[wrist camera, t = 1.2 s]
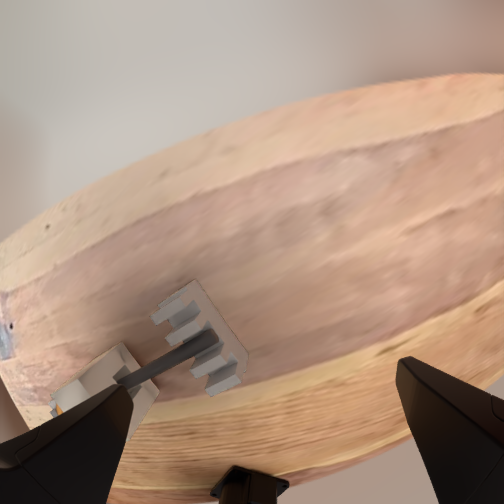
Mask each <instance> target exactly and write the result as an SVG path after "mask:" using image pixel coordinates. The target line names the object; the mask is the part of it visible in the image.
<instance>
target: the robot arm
mask: <svg viewBox="0 0 504 504" xmlns="http://www.w3.org/2000/svg"><path fill="white" fill-rule="evenodd" d="M396 386H397V390H398V393H399V396H400V399H401V403H402V406H403V409H404V413H405V416H406V419H407V423H408V425H409V428H410V430H411V432H412V435H413V437H414V439H415V442H416V444H417V447H418V449H419V452H420V454H421V456H422V459H423V462H424V464H425V467H426V469H427V472H428V475H429V477H430V480H431V483H432V485H433V488H434V491H435V493H436V497H437V499H438V502H439V504H504V400H503V399H500V398H498V397H496V396H494V395H491V394H489V393H487V392H485V391H483V390H481V389H479V388H476V387H474V386H472V385H470V384H468V383H466V382H464V381H462V380H459V379H457V378H455V377H453V376H451V375H449V374H447V373H445V372H443V371H441V370H439V369H436V368H434V367H432V366H430V365H428V364H426V363H424V362H422V361H420V360H418V359H416V358H414V357H412V356H408V357H404V358H401V359H399V361H398V364H397V372H396ZM133 409H134V403H133V400H132V398H131V396H130V394H129V392H128V390H127V388H126V386H125V385H123V384H112V385H111V386H109V387H107V388H106V389H104V390H102V391H100V392H99V393H97V394H95V395H94V396H92V397H90V398H88V399H87V400H85V401H83V402H81V403H80V404H78V405H76V406H74V407H72V408H71V409H69V410H67V411H65V412H64V413H62V414H60V415H58V416H56V417H54V418H53V419H51V420H49V421H47V422H45V423H43V424H42V425H41V426H38V427H36V428H34V429H32V430H30V431H29V432H26V433H24V434H22V435H20V436H17V437H15V438H13V439H11V440H8V441H6V442H3V443H1V444H0V504H106V502H107V498H108V495H109V492H110V489H111V485H112V482H113V479H114V476H115V473H116V470H117V467H118V464H119V461H120V458H121V455H122V452H123V449H124V446H125V443H126V439H127V435H128V431H129V426H130V422H131V418H132V413H133ZM235 470H236V471H235ZM287 488H289V482H287V481H284V480H280V479H276V478H272V477H269V476H265V475H262V474H259V473H256V472H252V471H249V470H246V469H243V468H240V467H237V466H234V467H232V468H231V469H230V470H229V471H228V472H227V473H226V475H225V476H224V477H223V478H222V479H221V480H220V481H219V483H218V484H217V485H216V486H215V487H214V488H213V489H212V490H211V492H210V495H211V496H212V497H215V498H218V499H219V504H277V497H278V496H279V495H281V494H282V493H283V492H284V491H285V490H286V489H287Z"/></svg>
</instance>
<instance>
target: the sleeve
mask: <svg viewBox="0 0 504 504" xmlns="http://www.w3.org/2000/svg"><path fill="white" fill-rule="evenodd" d="M140 368H141V367H140V365H139V364H138V363H137V361H136V360H135V359H134V357H133V356H132V355H131V353H130V352H129V351H128V349H127V348H126V346H125V345H124V344H123V342H120V343H119V344H117V345H116V346H114V347H112V348H111V349H109V350H108V351H106V352H104V353H103V354H101V355H100V356H98V357H97V358H95V359H93V360H92V361H91V362H90V363H89V364H87V365H86V366H85V367H84V368H82V369H81V370H80V371H79V372H77V373H76V374H75V375H74V376H73V377H71V378H70V379H69V380H68V381H66V382H65V383H64V384H63V385H62V386H60V387H59V388H58V389H57V390H55V391H54V392H53V393H52V394H51V397H52V398H53V399H54V401H55V402H56V403H57V405H58V406H59V407H60V409H61V410H62V411H63V412H65V411H67V410H69V409H71V408H72V407H74V406H76V405H78V404H80V403H81V402H83V401H85V400H87V399H88V398H90V397H92V396H94V395H95V394H97V393H99V392H100V391H102V390H104V389H106V388H107V387H109V386H111V385H112V384H117V383H116V381H117V380H119V379H121V378H123V377H125V376H127V375H128V374H130V373H132V372H134V371H136V370H138V369H140ZM128 392H129V394H130V396H131V398H132V400H133V403H134V409H133V413H132V418H131V422H130V426H129V431H128V435H127V439H126V441H129V440H130V439H131V437H132V436H133V434H134V432H135V431H136V429H137V428H138V426H139V424H140V423H141V421H142V420H143V418H144V416H145V415H146V413H147V412H148V410H149V409H150V407H151V405H152V404H153V402H154V401H155V399H156V398H157V396H158V394H159V393H160V391H159V389H158V388H157V387H156V386H155V385H154V383H153V382H152V381H151V380H150V379H149V380H147V381H145V382H143V383H141V384H139V385H137V386H135V387H133V388H131V389H129V390H128Z"/></svg>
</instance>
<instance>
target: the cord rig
mask: <svg viewBox="0 0 504 504" xmlns="http://www.w3.org/2000/svg"><path fill="white" fill-rule="evenodd" d="M158 307H159V309H158V310H157V311H156V312H154V313H153V314H152V315H151V316H150V318H151V319H152V321H153V322H154V324H155V325H156V326H157V325H158V324H160V323H162V322H163V321H165V320H166V319H167V320H168V321H169V323H170V324H171V325H172V327H173V329H172V330H171V331H170V333H169V334H168V335H167V336H166V337H165V339H166V340H167V342H168V343H169V345H170V346H171V347H172V346H174V345H176V344H178V343H179V342H181V341H183V342H184V343H185V344H183V345H181V346H179V347H177V348H176V349H174V350H172V351H170V352H169V353H167V354H165V355H163V356H161V357H160V358H158V359H156V360H154V361H152V362H151V363H149V364H147V365H145V366H143V367H141V368H140V369H138V370H136V371H134V372H132V373H130V374H128V375H127V376H125V377H123V378H121V379H119V380H117V381H116V383H117V384H123V385H125V386H126V388H127V390H129V389H131V388H133V387H135V386H137V385H139V384H141V383H143V382H145V381H147V380H149V379H151V378H153V377H155V376H157V375H159V374H161V373H162V372H164V371H166V370H168V369H170V368H172V367H174V366H176V365H178V364H180V363H182V362H183V361H185V360H187V359H189V358H191V357H193V356H194V357H195V358H196V359H195V361H194V363H193V365H192V367H191V369H190V372H191V373H192V375H193V376H194V377H195V378H196V379H197V378H199V377H201V376H203V375H205V374H208V375H209V379H208V382H207V384H206V387H205V391H206V392H207V393H208V394H209V395H210V397H212V396H214V395H217V394H219V393H221V392H223V391H225V390H227V389H229V388H231V387H233V386H235V385H237V384H239V383H241V382H242V378H243V373H244V372H246V369H247V362H248V356H249V354H248V353H247V351H246V350H245V349H244V347H243V346H242V344H241V343H240V342H239V340H238V339H237V338H236V336H235V335H234V333H233V332H232V331H231V329H230V328H229V326H228V325H227V324H226V322H225V321H224V319H223V318H222V316H221V315H220V314H219V312H218V311H217V309H216V308H215V306H214V305H213V303H212V302H211V301H210V299H209V298H208V296H207V295H206V293H205V292H204V290H203V289H202V287H201V286H200V284H199V283H198V281H197V280H196V279H194V280H193V281H191V282H190V283H188V284H187V285H185V286H184V287H182V288H181V289H179V290H178V291H176V292H175V293H173V294H172V295H170V296H169V297H168V298H166V299H165V300H164V301H162V302H161V303H160V304H158ZM48 404H49V405H50V407H51V408H52V409H53V410H52V411H51V412H50V413H51V415H52V416H53V417H56V416H58V415H60V414H62V413H64V412H63V411H62V410H61V409H60V407H59V406H58V405H57V403H56V402H55V401H54V399H52V400H51V401H50V402H49V403H48Z"/></svg>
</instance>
